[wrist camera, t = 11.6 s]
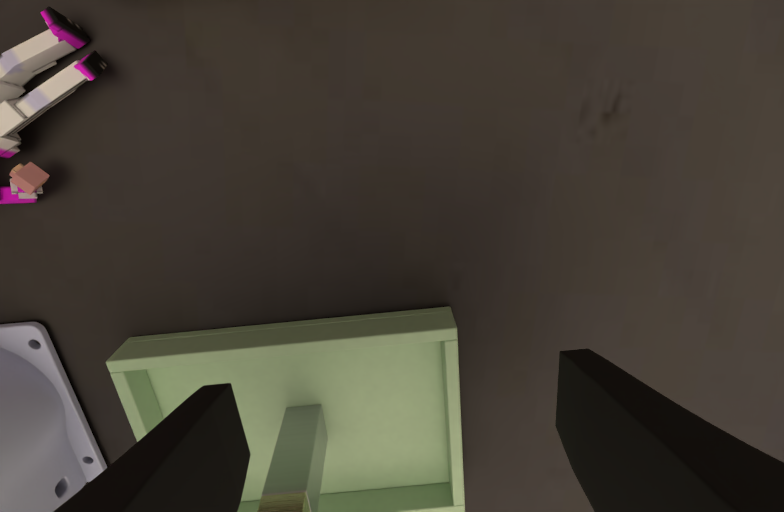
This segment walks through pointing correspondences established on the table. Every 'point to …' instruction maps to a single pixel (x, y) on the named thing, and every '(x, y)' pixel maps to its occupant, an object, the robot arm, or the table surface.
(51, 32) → the character figurine
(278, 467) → the tall bottle
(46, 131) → the table surface
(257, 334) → the tray
